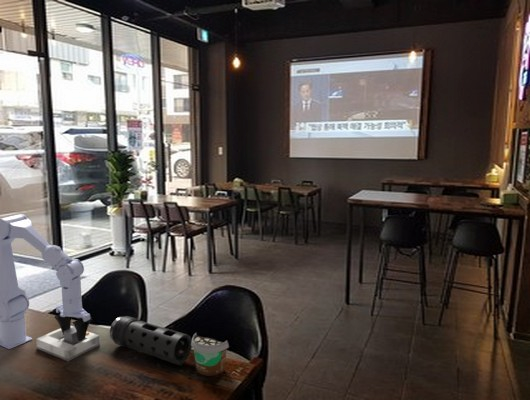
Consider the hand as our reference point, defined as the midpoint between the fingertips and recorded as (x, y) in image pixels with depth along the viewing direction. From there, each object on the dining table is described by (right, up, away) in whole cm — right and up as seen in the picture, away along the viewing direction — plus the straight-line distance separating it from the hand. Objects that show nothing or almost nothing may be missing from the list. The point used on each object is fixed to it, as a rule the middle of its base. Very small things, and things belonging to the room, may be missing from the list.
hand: (74, 336), depth 137 cm
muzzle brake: (+26, -6, -2) cm, 26 cm away
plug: (0, -4, 0) cm, 4 cm away
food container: (+45, -7, -12) cm, 47 cm away
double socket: (-3, -4, +2) cm, 6 cm away
